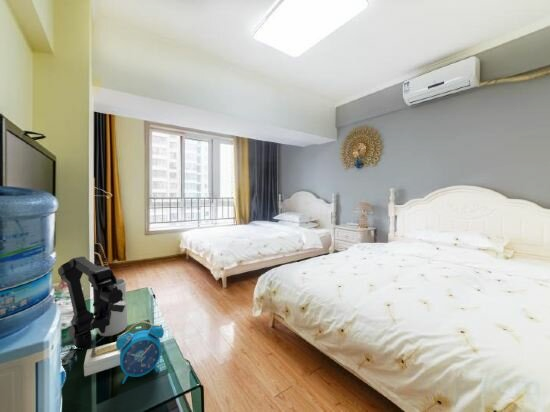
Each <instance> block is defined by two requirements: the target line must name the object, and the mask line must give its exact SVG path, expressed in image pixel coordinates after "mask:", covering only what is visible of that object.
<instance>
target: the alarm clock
mask: <svg viewBox="0 0 550 412" xmlns="http://www.w3.org/2000/svg"><path fill="white" fill-rule="evenodd" d="M138 324H148V325H150V326H151V327H150V328H149V329H148V330H140V331H136V332H135V333H131V332H129V331H131V329H133V328H134V327H135V326H136V325H138ZM164 333H165V332H164V328H163V325H162V324H153V323H150V322H148V321H146V320H145V321H139V322H136V323H134V324H133V325H132V326H131V327H130V328H129V329H128V330H127V331H125V332H123V333H122V334H120V335H119V334H118V335H117V339H116V341H115V342H116V347H117V349H118V350H121V351H120V365H119V366H120V368H121V371H122V372H123V373H124V374H125V377H124V379H123V380H122V381H121V383H122V384H124V385H125V382H126V381H127V379H128V377H131V378H132V377H134V378H136V377H137V378H138V377H142V376H144V375H147V374H148V373H150V372H151V371H152V370H155V371H157V372H160V371H161V370H160V369H159V368H158V366H157V364H158V363H159V361H160V358H161V356H162V345H161V340H160V339H162V338H163V337H164Z"/></svg>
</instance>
